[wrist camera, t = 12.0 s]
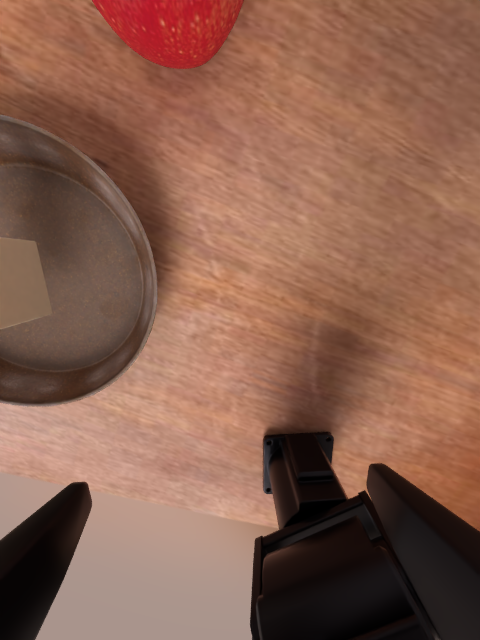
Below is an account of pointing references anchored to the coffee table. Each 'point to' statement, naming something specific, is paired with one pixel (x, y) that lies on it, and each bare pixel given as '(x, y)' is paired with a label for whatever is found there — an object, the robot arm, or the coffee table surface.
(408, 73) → the coffee table surface
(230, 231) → the coffee table surface
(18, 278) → the bear
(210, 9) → the apple
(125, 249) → the plant saucer
